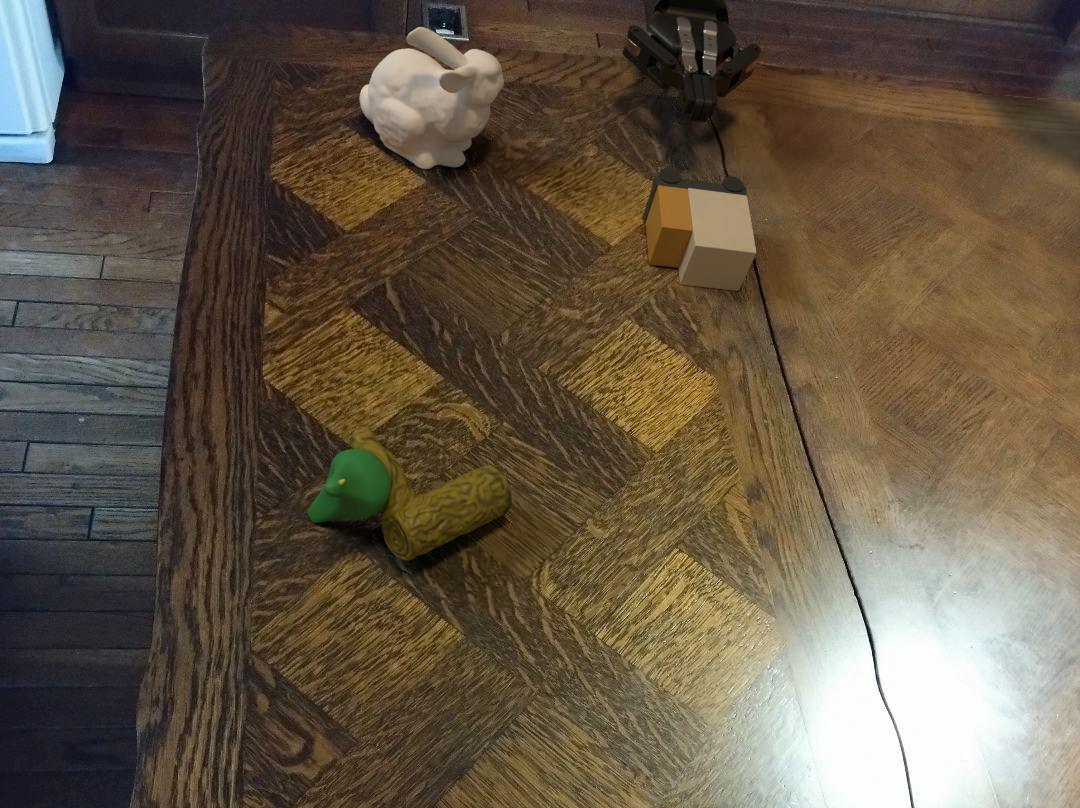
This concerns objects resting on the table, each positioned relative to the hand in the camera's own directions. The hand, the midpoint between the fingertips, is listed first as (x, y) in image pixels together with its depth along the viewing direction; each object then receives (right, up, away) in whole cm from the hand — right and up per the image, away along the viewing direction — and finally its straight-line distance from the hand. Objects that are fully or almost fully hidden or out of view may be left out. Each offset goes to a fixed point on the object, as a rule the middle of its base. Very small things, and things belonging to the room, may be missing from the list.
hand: (701, 112), depth 85 cm
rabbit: (-23, -2, +2) cm, 24 cm away
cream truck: (-1, -7, +1) cm, 7 cm away
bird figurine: (-24, -37, -19) cm, 48 cm away
